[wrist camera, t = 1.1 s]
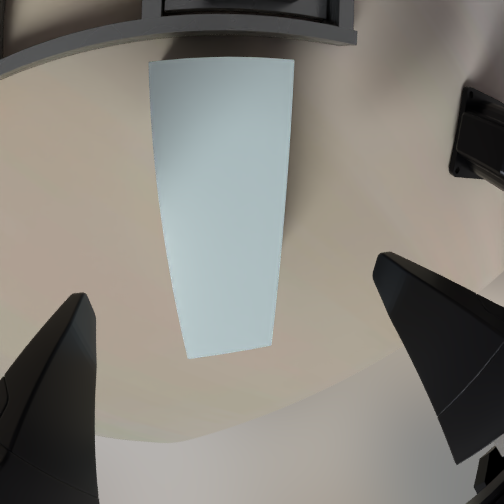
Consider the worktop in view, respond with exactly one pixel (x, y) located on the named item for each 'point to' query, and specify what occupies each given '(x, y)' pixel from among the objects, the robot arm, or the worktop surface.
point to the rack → (198, 27)
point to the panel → (222, 193)
